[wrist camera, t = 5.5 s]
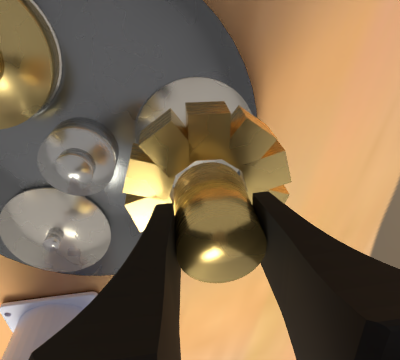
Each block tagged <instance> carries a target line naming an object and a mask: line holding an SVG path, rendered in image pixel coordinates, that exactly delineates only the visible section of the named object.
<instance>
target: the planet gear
mask: <svg viewBox="0 0 400 360" xmlns="http://www.w3.org/2000/svg"><path fill="white" fill-rule="evenodd" d="M185 110H186V126H185V125H184V124H183V122H182V121H181V120H180V119H179V118H178V116H177V115H176V114H175V113H174V112H173V110H172V109H171V108H170V109H168V110H167V111H166V112H165V113H163V114H162V115H161V116H159V117H158V118H157V119H156V120H154V121H153V122H152V123H150V124H149V125H148V126H147V127H145V128H144V129H143V130H141V133H140V140H139V144H136V143H133V146H132V150H131V155H130V159H129V163H128V168H127V172H126V177H125V182H124V187H123V193H127V194H126V200H125V207H126V209H127V210H128V212H129V214H130V215H131V217H132V219H133V221H134V222H135V224H136V226H137V227H138V229H139V231H140V232H142V231H144V229H145V227H146V225H147V223H148V221H149V219H150V217H151V214H152V212H153V209H154V207H155V206H156V205H157V204H165V203H173V207H174V214H175V228H176V251H177V260H178V263H179V265H180V267H181V268H182V270H183V271H184V272H185V273H186V274H187V275H189V276H190V277H192V278H194V279H196V280H199V281H202V282H207V283H224V282H230V281H233V280H237V279H239V278H241V277H243V276H245V275H247V274H249V273H250V272H252V271H253V270H254V269H255V268H256V267H257V266H258V265H259V264H260V262H261V261H262V259H263V258H264V255H265V253H266V248H267V242H266V237H265V235H264V232H263V230H262V227H261V225H260V223H259V220H258V218H257V215H256V213H255V211H254V208H253V206H252V198H253V193H258V192H266V191H269V192H270V193H271V194H273V195H274V196H275V197H276V198H278V199H279V200H280V201H281V202H283V203H284V204H285V202H286V200H287V198H288V196H289V193H288V191H287V190H286V188H285V186H284V184H287V183H290V182H291V177H290V172H289V167H288V162H287V158H286V153H285V150H284V149H283V147H282V146H281V145H280V143H279V142H278V141H277V138H276V137H275V135H274V134H273V133H272V131H271V130H270V129H269V128H268V126H267V125H266V124H264V123H263V122H262V121H260V120H259V119H257V118H256V117H254V116H253V115H252V114H250V113H249V112H247V111H246V110H245V109H243V108H242V107H240V106H239V105H238V107H237V108H236V109H235V110H234V112H233V113H232V114H231V112H230V111H229V109H228V107H227V105H226V103H225V102H224V101H212V102H187V103H185ZM219 159H222V160H224V161H226V162H227V163H229V164H230V165H232V166H234V167H235V168H237V169H239V171H240V176H239V175H238V173H237V172H236V171H235V170H234V169H232V168H231V167H229V166H227V165H224V164H221V163H216V162H207V163H201V164H198V165H195V166H193V167H191V168H189V169H188V170H186V171H185V172H184V173H183V174H182V175H181V176H180V177H179V179H178V180H177V182H176V184H175V187H174V189H173V186H172V185H173V182H174V179H175V176H176V175H177V174H178V173H180V172H181V171H182V170H184V169H185V168H187V167H188V166H189V165H191V164H192V163H194V162H195V161H201V160H219Z"/></svg>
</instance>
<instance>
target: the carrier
mask: <svg viewBox="0 0 400 360" xmlns="http://www.w3.org/2000/svg"><path fill="white" fill-rule="evenodd" d="M212 101H224V102H225V103H226V105H227V107H228V109H229V111H230V112H231V114H232V113H233V112H234V110H235V109H236V108H237V107H238V105H239V106H240V107H242V108H243V109H245V110H246V111H247V112H249V113H250V114H252V115H253V116H254V117H256V118H257V113H256V105H255V100H254V94H253V89H252V85H251V82H250V79H249V76H248V73H247V70H246V67H245V64H244V62H243V60H242V58H241V56H240V54H239V52H238V50H237V48H236V46H235V43H234V41H233V40H232V38H231V37H230V35H229V34H228V32H227V31H226V29H225V28H224V26H223V25H222V23H221V22H220V20H219V19H218V17H217V16H216V15H215V14H214V13H213V11H212V10H211V9H210V8H209V7H208V6H207V5H206V3H205V2H204V1H203V0H0V254H1V255H3V256H5V257H7V258H10V259H13V260H15V261H18V262H20V263H23V264H26V265H29V266H33V267H36V268H39V269H43V270H47V271H53V272H59V273H64V274H74V275H87V276H104V275H115V274H116V273H117V271H118V270H119V269H120V267H121V266H122V265H123V263H124V262H125V260H126V259H127V258H128V256H129V254H130V253H131V251H132V250H133V248H134V247H135V245H136V244H137V242H138V240H139V238H140V236H141V235H142V233H143V231H142V232H140V231H139V229H138V227H137V226H136V224H135V222H134V221H133V219H132V217H131V215H130V214H129V212H128V210H127V209H126V207H125V200H126V194H127V193H123V187H124V182H125V177H126V172H127V168H128V163H129V159H130V155H131V150H132V146H133V143H136V144H139V140H140V133H141V130H143V129H144V128H145V127H147V126H148V125H149V124H150V123H152V122H153V121H154V120H156V119H157V118H158V117H159V116H161V115H162V114H163V113H165V112H166V111H167V110H168V109H170V108H171V109H172V110H173V112H174V113H175V114H176V115H177V116H178V118H179V119H180V120H181V121H182V122H183V124H184V125H185V126H186V110H185V103H187V102H212ZM207 162H216V163H221V164H224V165H227V166H229V167H231V168H232V169H234V170H235V171H236V172H237V173H238V175H239V176H240V171H239V169H237V168H235V167H234V166H232V165H230V164H229V163H227V162H226V161H224V160H222V159H219V160H201V161H195V162H194V163H192V164H191V165H189V166H188V167H187V168H185V169H184V170H182V171H181V172H180V173H178V174H177V175H176V176H175V179H174V182H173V185H172V186H173V189H174V187H175V184H176V182H177V180H178V179H179V177H180V176H181V175H182V174H183V173H184V172H185V171H186V170H188V169H189V168H191V167H193V166H195V165H198V164H201V163H207Z"/></svg>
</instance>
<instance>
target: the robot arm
mask: <svg viewBox="0 0 400 360" xmlns="http://www.w3.org/2000/svg"><path fill="white" fill-rule="evenodd" d="M252 206H253V208H254V211H255V213H256V215H257V218H258V220H259V223H260V225H261V227H262V230H263V232H264V235H265V237H266V242H267V248H266V253H265V255H264V258H263V259H262V261H261V262H260V263H261V265H262V267H263V270H264V272H265V275H266V277H267V279H268V282H269V284H270V286H271V289H272V291H273V293H274V296H275V298H276V300H277V303H278V305H279V307H280V310H281V312H282V315H283V318H284V321H285V324H286V327H287V330H288V333H289V336H290V340H291V343H292V346H293V349H294V353H295V356H296V360H400V269H398V268H395V267H393V266H390V265H388V264H385V263H383V262H381V261H378V260H376V259H374V258H372V257H370V256H367V255H365V254H363V253H361V252H359V251H357V250H355V249H353V248H351V247H349V246H347V245H345V244H344V243H342V242H340V241H338V240H336V239H335V238H333V237H331V236H329V235H328V234H326V233H325V232H323V231H322V230H320V229H318V228H317V227H315V226H314V225H312V224H311V223H309V222H308V221H307V220H305V219H304V218H302V217H301V216H300V215H298V214H297V213H296V212H294V211H293V210H292V209H290V208H289V207H288V206H286V205H285V204H284V203H283V202H281V201H280V200H279V199H278V198H276V197H275V196H274V195H273V194H271V193H270V192H269V191H266V192H258V193H253V198H252ZM180 278H181V267H180V265H179V263H178V260H177V251H176V228H175V214H174V207H173V203H165V204H157V205H156V206H155V207H154V209H153V212H152V214H151V217H150V219H149V221H148V223H147V225H146V227H145V229H144V231H143V233H142V235H141V236H140V238H139V240H138V242H137V244H136V245H135V247H134V248H133V250H132V251H131V253H130V254H129V256H128V258H127V259H126V260H125V262H124V263H123V265H122V266H121V267H120V269H119V270H118V271H117V273H116V274H115V275H114V276H113V278H112V279H111V280H110V281H109V282H108V284H107V285H106V286H105V287H104V288H103V289H102V290H101V292H100V293H99V294H98V293H96V292H84V293H76V294H69V295H61V296H53V297H46V298H38V299H30V300H23V301H15V302H7V303H3V304H1V306H0V313H1V314H2V316H3V318H4V319H5V321H6V323H7V324H8V326H9V327H10V329H11V331H12V332H13V334H12V337H11V339H10V341H9V343H8V346H7V348H6V350H5V352H4V355H3V357H2V359H1V360H181V353H180V337H179V312H180Z"/></svg>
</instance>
